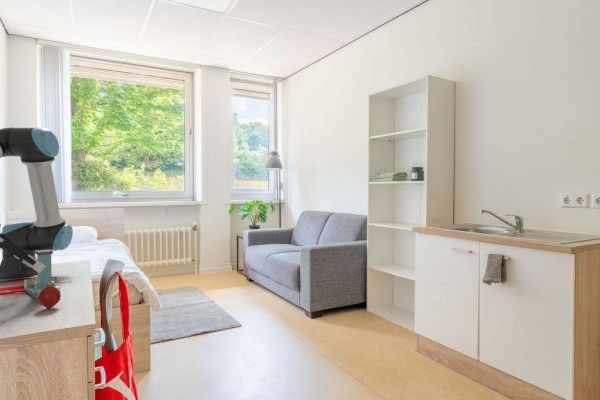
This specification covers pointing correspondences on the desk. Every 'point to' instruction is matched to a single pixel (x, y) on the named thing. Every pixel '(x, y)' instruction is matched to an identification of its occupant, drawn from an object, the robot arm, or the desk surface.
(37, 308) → the desk surface
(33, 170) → the robot arm
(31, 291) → the rail
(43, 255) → the carriage
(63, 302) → the desk surface
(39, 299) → the onion
